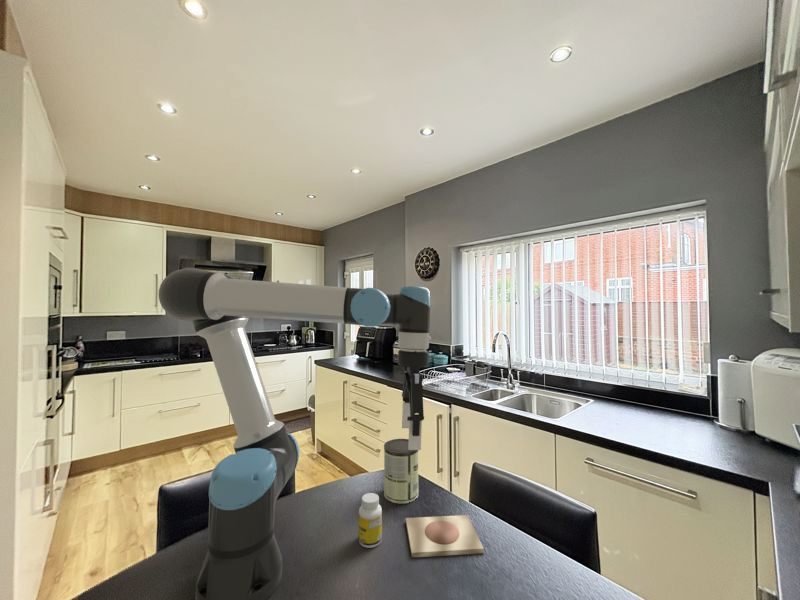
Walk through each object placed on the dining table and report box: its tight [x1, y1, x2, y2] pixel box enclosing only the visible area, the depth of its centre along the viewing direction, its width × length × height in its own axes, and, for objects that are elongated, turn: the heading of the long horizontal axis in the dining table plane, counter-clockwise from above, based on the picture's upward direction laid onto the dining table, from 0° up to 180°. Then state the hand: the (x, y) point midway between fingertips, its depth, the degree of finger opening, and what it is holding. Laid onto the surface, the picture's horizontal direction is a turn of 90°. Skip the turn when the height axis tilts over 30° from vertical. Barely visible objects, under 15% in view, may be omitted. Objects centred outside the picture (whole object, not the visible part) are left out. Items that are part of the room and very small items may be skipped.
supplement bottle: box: [358, 492, 383, 549], centre depth 75 cm, size 5×5×10 cm
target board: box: [405, 514, 485, 558], centre depth 77 cm, size 16×12×1 cm
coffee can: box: [383, 438, 420, 505], centre depth 95 cm, size 10×10×14 cm
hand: (410, 437), depth 79 cm, fingers open, 13 cm apart
